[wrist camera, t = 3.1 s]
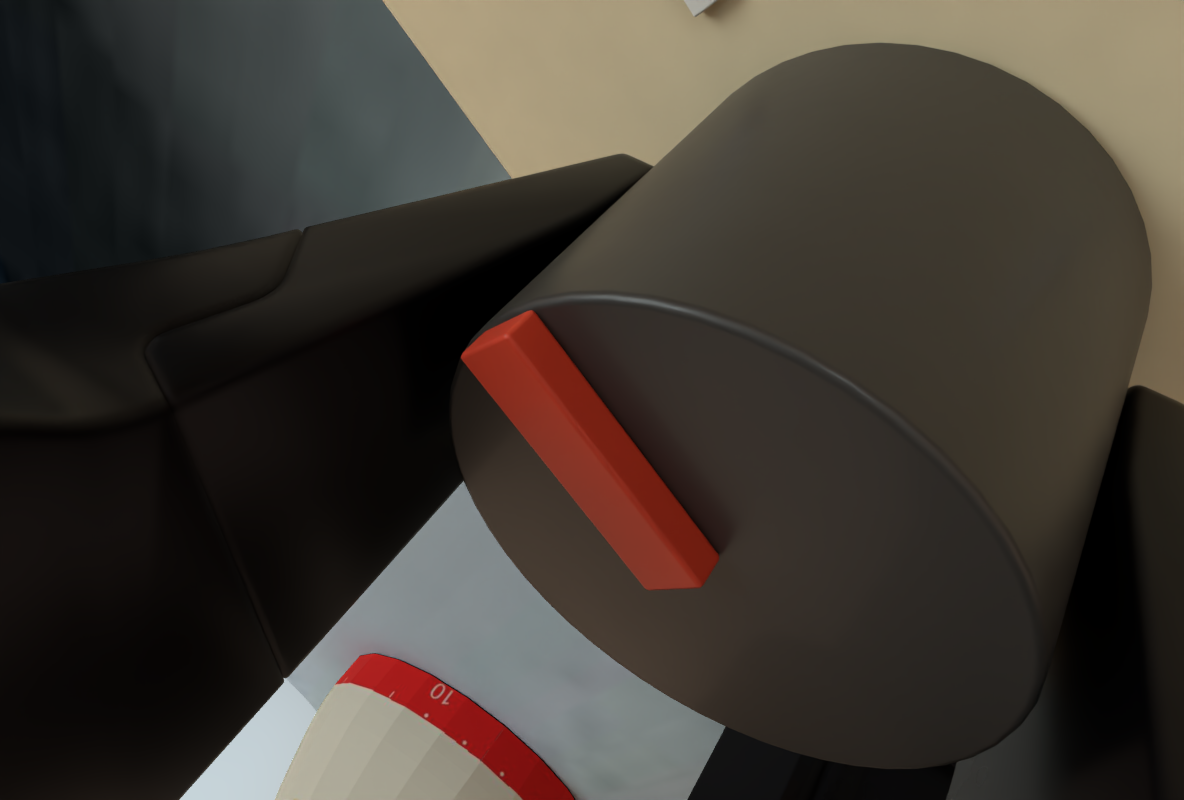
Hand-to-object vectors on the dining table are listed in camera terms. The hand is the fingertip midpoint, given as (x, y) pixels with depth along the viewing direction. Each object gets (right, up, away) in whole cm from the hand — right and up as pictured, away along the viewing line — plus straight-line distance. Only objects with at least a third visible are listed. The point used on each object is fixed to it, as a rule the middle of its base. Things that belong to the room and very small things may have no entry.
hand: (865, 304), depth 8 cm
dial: (0, 0, 0) cm, 0 cm away
